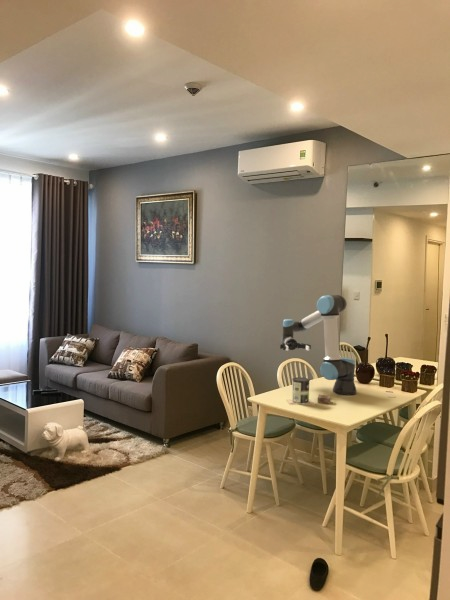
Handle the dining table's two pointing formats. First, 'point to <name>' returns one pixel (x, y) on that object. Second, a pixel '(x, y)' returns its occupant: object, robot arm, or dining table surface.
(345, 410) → the dining table surface
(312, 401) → the letter
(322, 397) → the walnut block
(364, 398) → the dining table surface
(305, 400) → the coffee can
